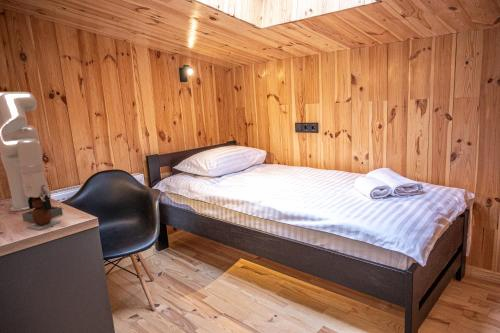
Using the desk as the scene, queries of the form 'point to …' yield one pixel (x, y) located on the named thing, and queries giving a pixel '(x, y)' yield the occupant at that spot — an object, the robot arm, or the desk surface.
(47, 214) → the wooden figurine
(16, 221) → the desk surface
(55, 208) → the dock
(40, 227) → the mat
